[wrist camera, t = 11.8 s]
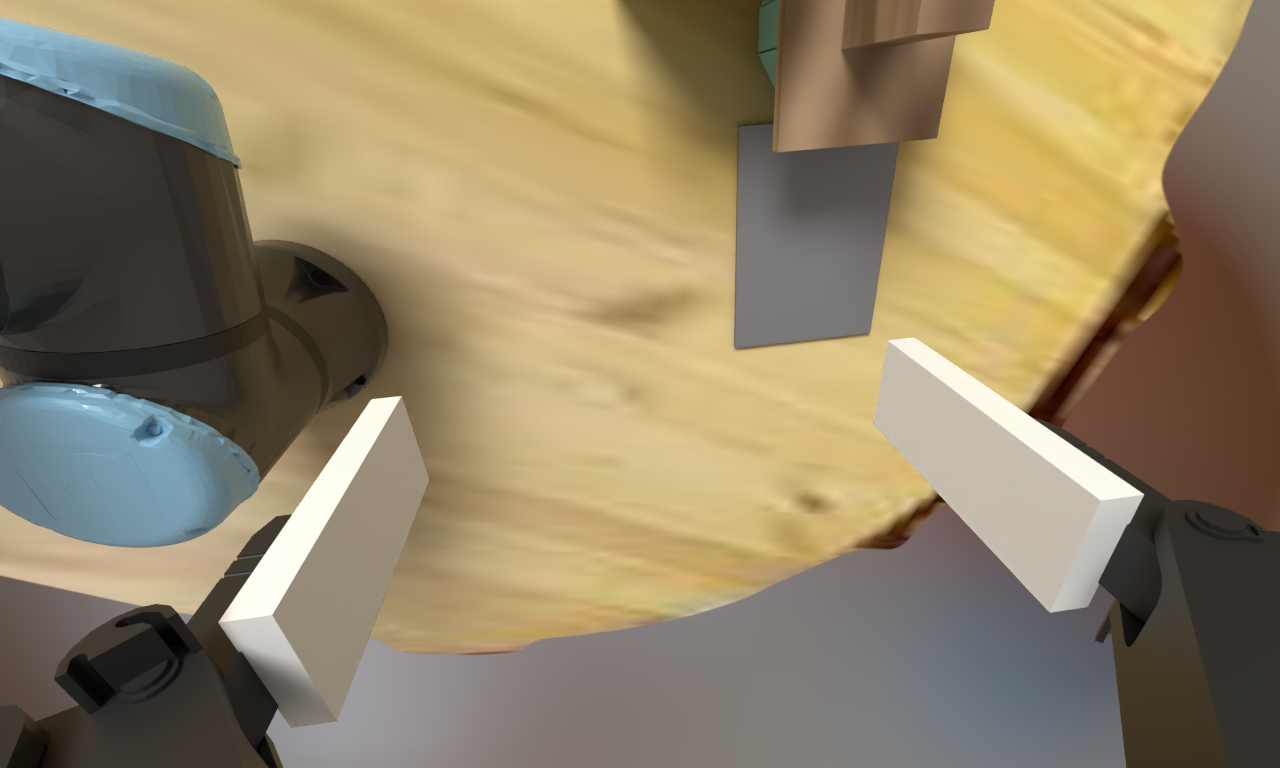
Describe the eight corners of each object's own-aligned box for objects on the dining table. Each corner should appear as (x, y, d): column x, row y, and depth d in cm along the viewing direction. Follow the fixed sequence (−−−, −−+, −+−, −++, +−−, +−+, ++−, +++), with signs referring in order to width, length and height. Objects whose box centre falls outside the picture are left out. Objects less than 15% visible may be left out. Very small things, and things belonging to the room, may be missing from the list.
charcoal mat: (734, 346, 53) (735, 348, 52) (737, 126, 43) (739, 126, 43) (867, 331, 54) (869, 333, 53) (900, 112, 44) (902, 112, 44)
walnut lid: (772, 151, 39) (830, 164, 30) (785, -142, 31) (868, -239, 22) (927, 137, 39) (1028, 146, 31) (977, -152, 32) (1130, -250, 23)
